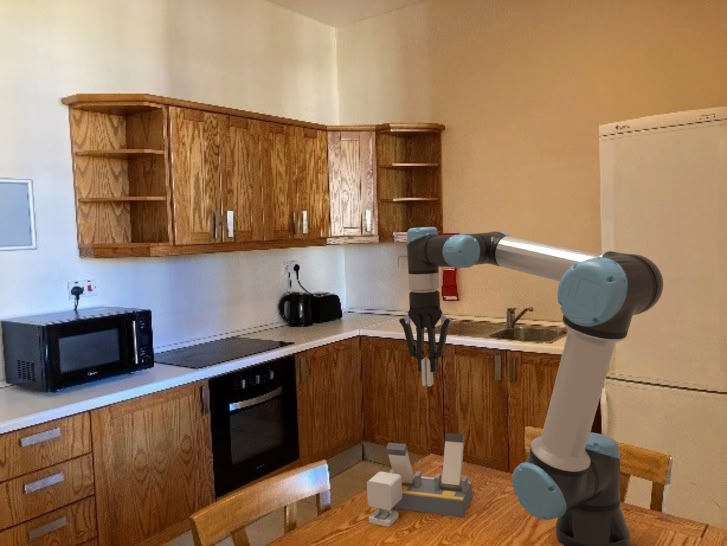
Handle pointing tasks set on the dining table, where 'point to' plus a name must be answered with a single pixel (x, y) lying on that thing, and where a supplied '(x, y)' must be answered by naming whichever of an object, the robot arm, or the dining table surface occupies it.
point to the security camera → (384, 497)
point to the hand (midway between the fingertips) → (427, 384)
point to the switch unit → (435, 496)
